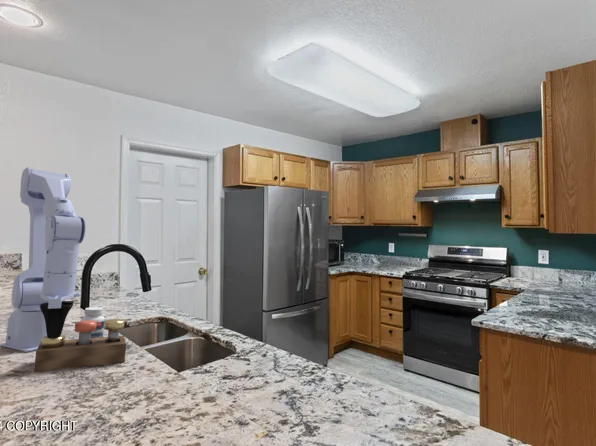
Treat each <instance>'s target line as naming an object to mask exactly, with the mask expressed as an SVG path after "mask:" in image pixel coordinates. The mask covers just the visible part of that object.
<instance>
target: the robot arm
mask: <svg viewBox="0 0 596 446" xmlns="http://www.w3.org/2000/svg"><path fill="white" fill-rule="evenodd" d="M71 178H72V177H70V175H69V174H68V173H60V172H55V171H48V170H41V169H36V168H31V167H28V166H27V167H25V168H24V169H23V170H22V173H21V178H20V190H19V191H20V193H19V194H20V195H19V196H20V202H21V203H22V204H24V205H25V206H27V207H28V211H29V217H30V218H29V245H28V246H29V247H28V248H29V252H28V253H29V254H28V268H27V269H25V270H24V271H22V272H20V273H18V274H17V276H15V278H14V280H13V286H12V290H11V306H12V307H13V308H14V309H13V310H14V311H12V312H11V314H10V315H9V317H8V320H7V328H6V336H5V337H6V338H5V342H4V343H0V346H1V347H4V348H8V349H12V350H15V351H21V352H25V353H30V352H33V351H37V349H38V347H39V345H40V343H41V342H42V337H44V336H47V338H58V337H60V335H62V334H63V330H64V325H65V322H66V319H67V317H68V314H69V312H70V311H71V309H72V308H73V306H74V304H75V303H74V300H70V299H72V298H76V297H81V295H82V292H79V291H75V290H76V283H77V273H78V262H79V253H80V245H81V244H82V243H83V241H84V239H85V236H86V220H85V218H84V217H82V216H81V215H77V214H76V210H75V208H74V205H73V203H72V201H71V200H70V199H68V195H69V194H70V191H71V188H72V187H71V186H72V179H71Z"/></svg>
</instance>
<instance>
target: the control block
mask: <svg viewBox="0 0 596 446" xmlns="http://www.w3.org/2000/svg"><path fill="white" fill-rule="evenodd" d="M107 339H108V336H103V337H101V338H90V344H87V345H78V340H79V338H78V339H65V344H64V345H62V346H59V347H51V348H46V347H42V346H41V344H42V342H41V343H40V345H39V347H38V349H37V350H35V358H34V367H33V373H39V372H49V371H50V372H51V371H58V370H66V369H75V368H84V367H85V368H86V367H92V366H93V367H95V366H102V365H112V364H120V363H121V364H122V363H125V360H126V349H127V342H126V339H125V336H124V335H119V338H118V342H111V343H107Z"/></svg>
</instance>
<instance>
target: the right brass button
mask: <svg viewBox="0 0 596 446" xmlns="http://www.w3.org/2000/svg"><path fill="white" fill-rule="evenodd" d="M124 328H125V319H122V318H112V319H106V320H105V321H104V331H105V330H106V331H108V332H107V337H108V339H107V343H111V342H118V338H119V336H120V330H123V329H124Z"/></svg>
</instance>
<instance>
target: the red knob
mask: <svg viewBox="0 0 596 446" xmlns="http://www.w3.org/2000/svg"><path fill="white" fill-rule="evenodd" d="M96 324H97V322H96V321H92V320H86V321H81V320H79V321H76V322H75V324H74V332H76V333H78V339H79V340H78V345H87V344H90V337H91V331H94V330H96Z"/></svg>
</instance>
